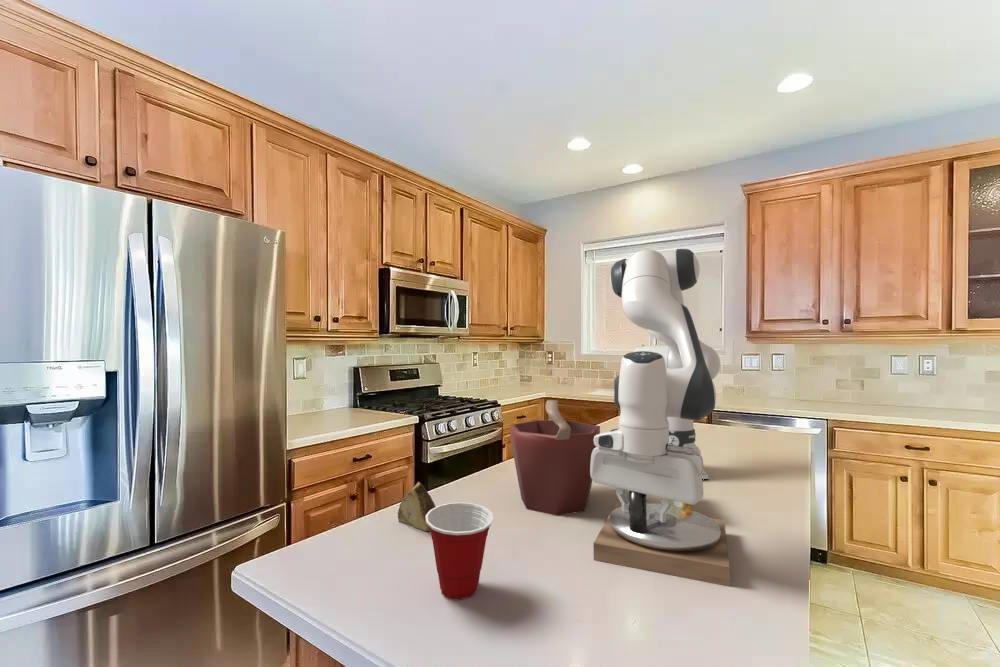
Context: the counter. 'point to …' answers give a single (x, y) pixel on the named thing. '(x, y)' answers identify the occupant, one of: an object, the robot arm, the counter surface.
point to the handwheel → (664, 526)
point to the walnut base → (666, 556)
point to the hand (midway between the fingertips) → (643, 516)
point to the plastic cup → (459, 545)
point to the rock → (416, 507)
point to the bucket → (553, 462)
